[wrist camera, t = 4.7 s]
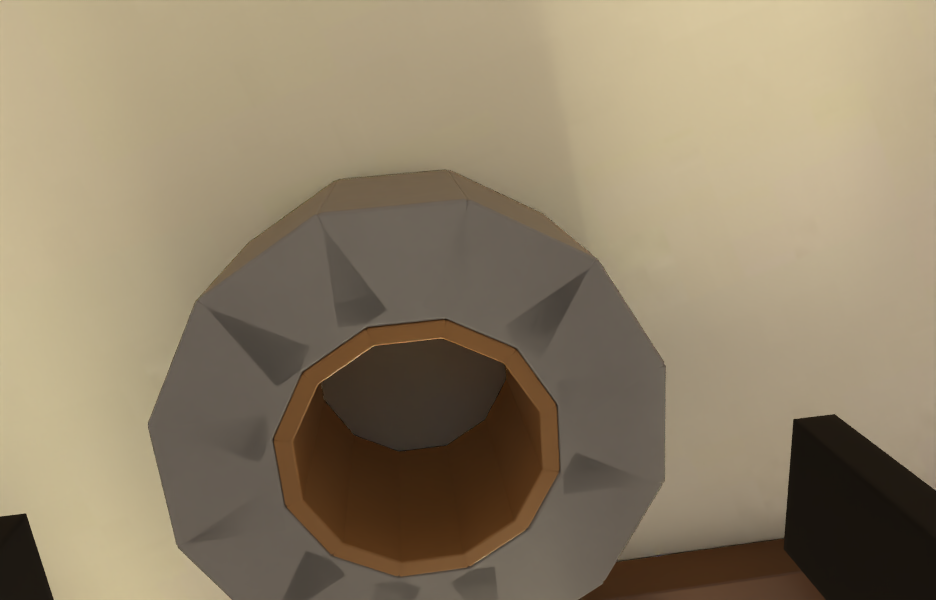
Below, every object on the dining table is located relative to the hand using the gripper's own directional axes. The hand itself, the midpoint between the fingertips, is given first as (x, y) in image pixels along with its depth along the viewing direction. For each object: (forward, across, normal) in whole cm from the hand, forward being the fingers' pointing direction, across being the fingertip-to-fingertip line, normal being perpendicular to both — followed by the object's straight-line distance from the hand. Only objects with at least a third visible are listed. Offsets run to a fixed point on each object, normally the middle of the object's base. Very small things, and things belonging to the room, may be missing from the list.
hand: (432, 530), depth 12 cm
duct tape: (+8, 0, 0) cm, 8 cm away
